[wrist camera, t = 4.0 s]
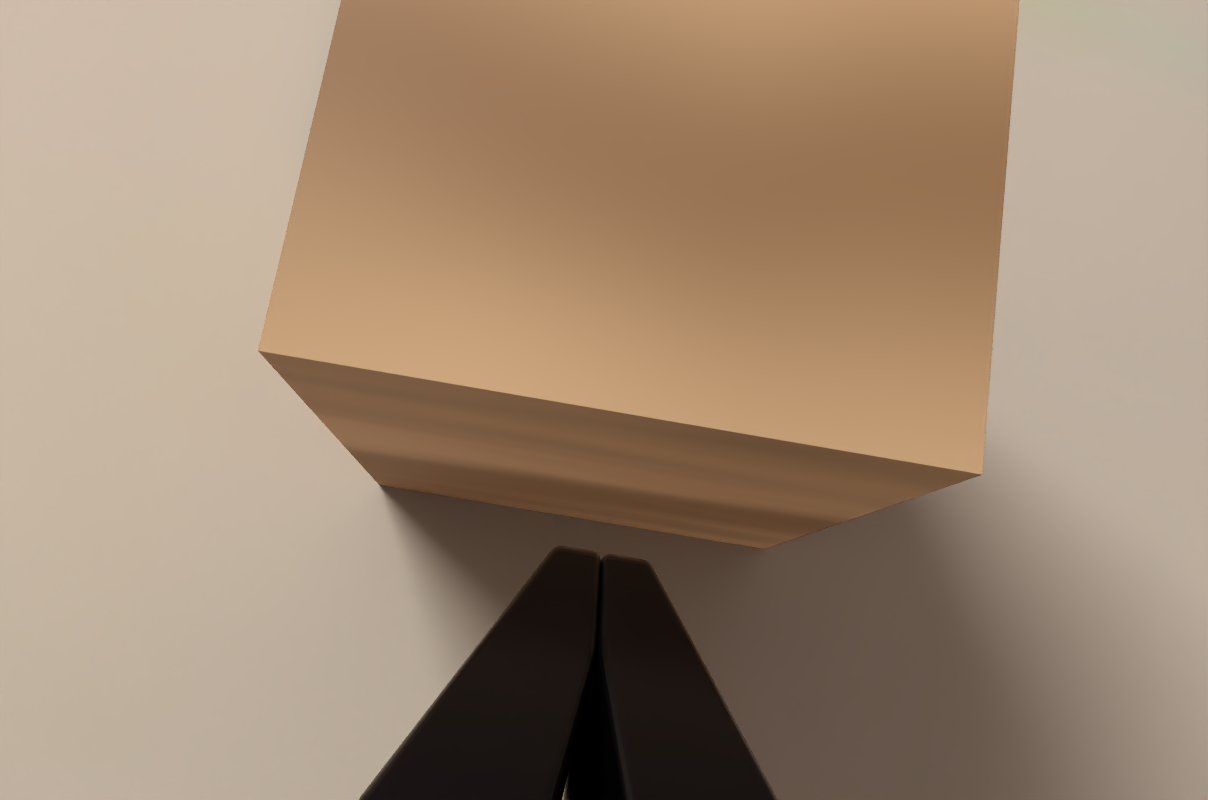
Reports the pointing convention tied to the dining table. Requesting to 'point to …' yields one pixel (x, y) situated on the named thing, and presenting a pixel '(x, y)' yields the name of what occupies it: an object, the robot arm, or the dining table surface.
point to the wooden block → (654, 254)
